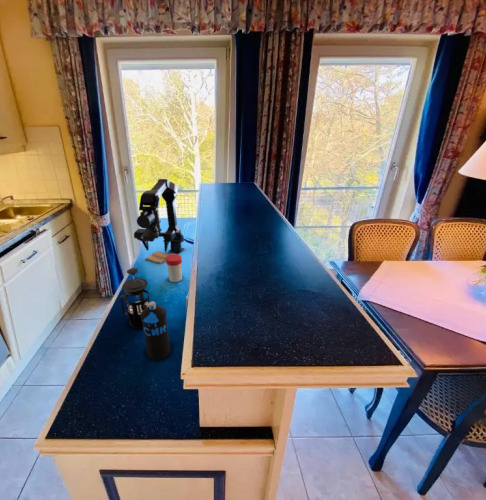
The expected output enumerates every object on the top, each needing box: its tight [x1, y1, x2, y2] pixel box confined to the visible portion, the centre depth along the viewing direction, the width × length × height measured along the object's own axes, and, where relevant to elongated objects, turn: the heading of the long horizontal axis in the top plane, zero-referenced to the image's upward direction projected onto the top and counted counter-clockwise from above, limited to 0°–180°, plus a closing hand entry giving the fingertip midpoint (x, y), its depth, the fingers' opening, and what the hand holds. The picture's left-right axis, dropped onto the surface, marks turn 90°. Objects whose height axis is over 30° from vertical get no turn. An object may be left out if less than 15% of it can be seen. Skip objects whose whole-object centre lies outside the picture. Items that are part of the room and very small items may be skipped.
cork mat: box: [145, 251, 171, 264], centre depth 157 cm, size 10×10×1 cm
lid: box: [165, 253, 183, 266], centre depth 132 cm, size 8×8×2 cm
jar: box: [166, 263, 183, 283], centre depth 134 cm, size 7×7×11 cm
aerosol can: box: [139, 300, 172, 361], centre depth 91 cm, size 8×8×20 cm
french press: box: [119, 267, 151, 330], centre depth 104 cm, size 12×9×23 cm
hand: (156, 250), depth 133 cm, fingers open, 9 cm apart
